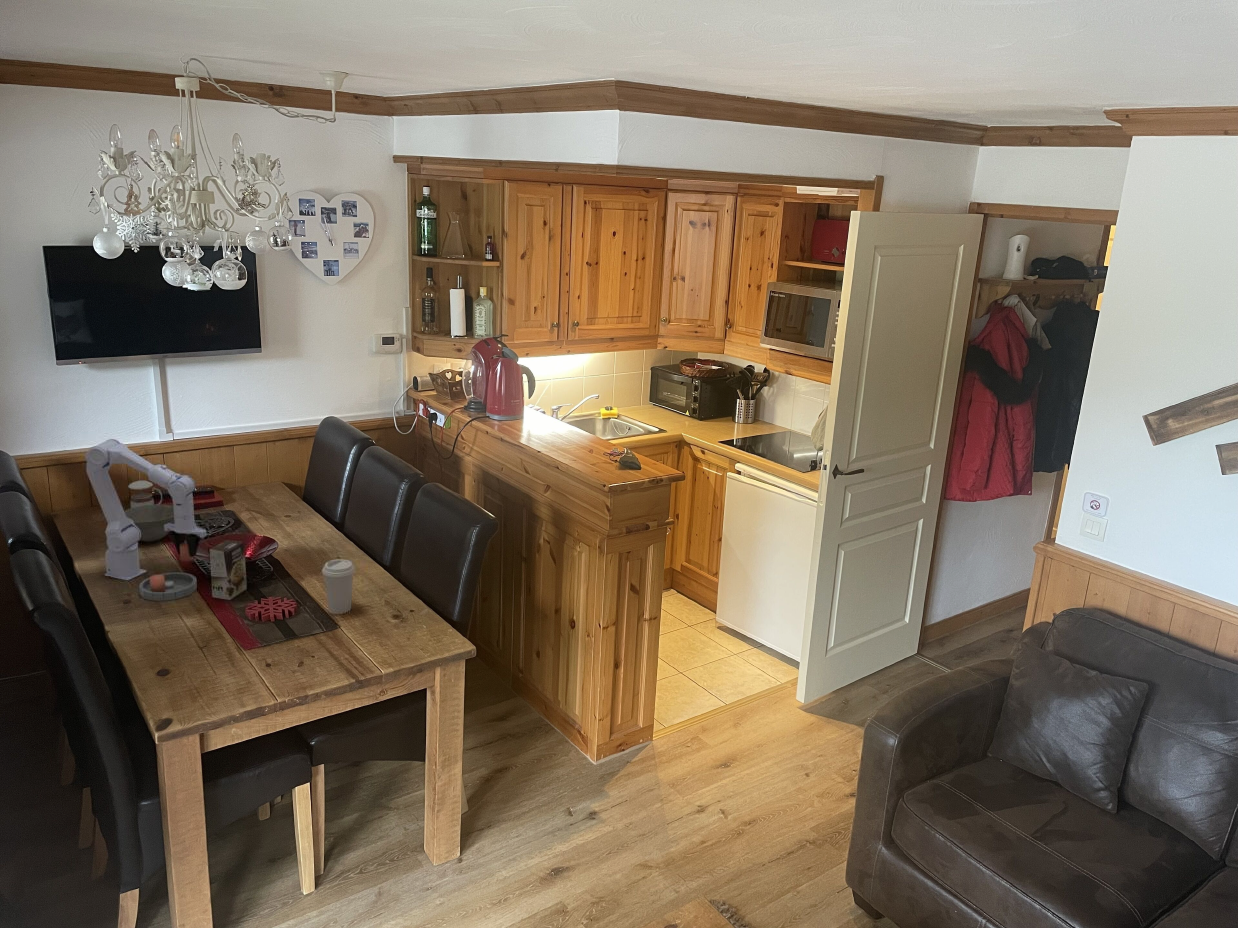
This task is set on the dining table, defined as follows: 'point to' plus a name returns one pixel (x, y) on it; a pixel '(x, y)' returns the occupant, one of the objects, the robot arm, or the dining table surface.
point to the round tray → (170, 594)
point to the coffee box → (228, 569)
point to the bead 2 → (185, 552)
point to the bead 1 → (157, 583)
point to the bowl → (151, 520)
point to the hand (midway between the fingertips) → (187, 554)
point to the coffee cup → (338, 585)
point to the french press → (142, 493)
